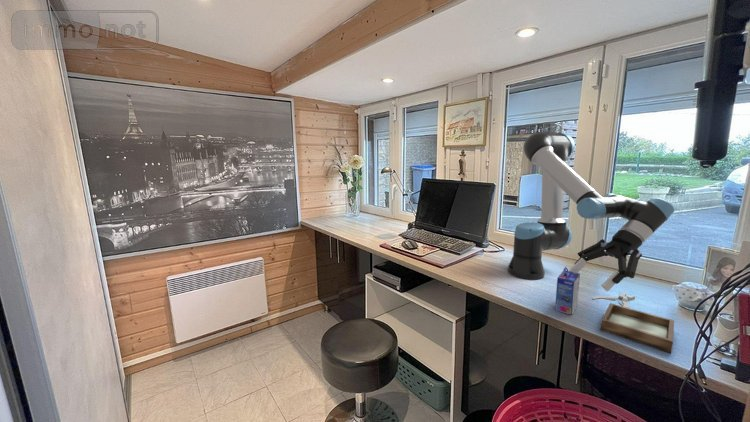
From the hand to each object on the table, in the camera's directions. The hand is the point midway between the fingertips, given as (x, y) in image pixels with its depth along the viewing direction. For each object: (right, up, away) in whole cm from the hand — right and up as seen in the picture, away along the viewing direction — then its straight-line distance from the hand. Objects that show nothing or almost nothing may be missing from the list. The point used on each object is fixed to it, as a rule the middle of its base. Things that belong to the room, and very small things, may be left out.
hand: (586, 280), depth 101 cm
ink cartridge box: (-5, -11, +3) cm, 12 cm away
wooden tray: (+7, -13, -11) cm, 18 cm away
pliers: (+18, -10, +8) cm, 22 cm away
